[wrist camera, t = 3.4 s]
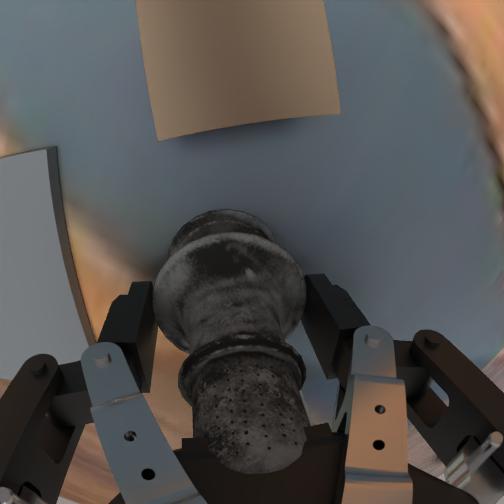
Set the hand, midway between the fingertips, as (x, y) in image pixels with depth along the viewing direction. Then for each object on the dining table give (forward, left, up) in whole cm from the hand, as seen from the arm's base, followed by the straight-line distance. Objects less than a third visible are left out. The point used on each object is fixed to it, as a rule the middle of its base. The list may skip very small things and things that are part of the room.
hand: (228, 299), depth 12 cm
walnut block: (0, -9, -3) cm, 10 cm away
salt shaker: (0, 0, -3) cm, 3 cm away
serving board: (+14, +1, -3) cm, 14 cm away
